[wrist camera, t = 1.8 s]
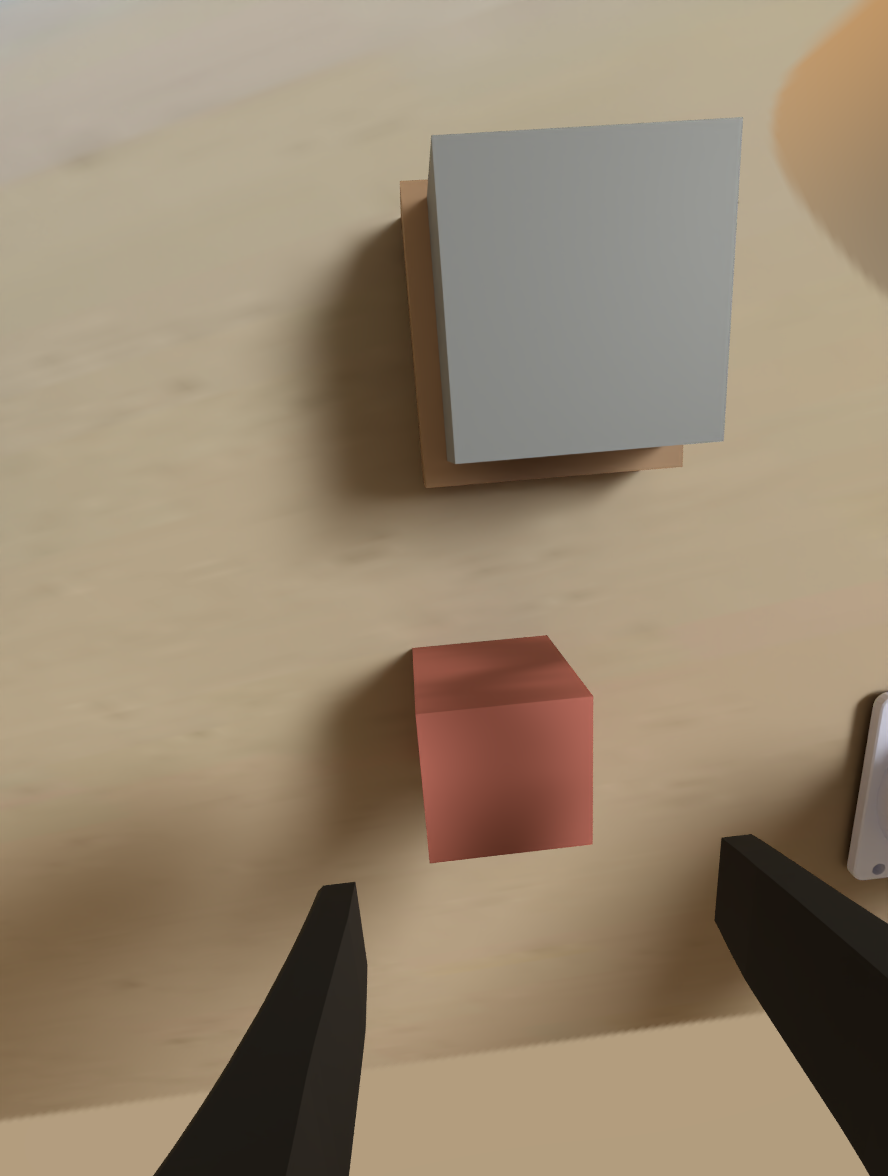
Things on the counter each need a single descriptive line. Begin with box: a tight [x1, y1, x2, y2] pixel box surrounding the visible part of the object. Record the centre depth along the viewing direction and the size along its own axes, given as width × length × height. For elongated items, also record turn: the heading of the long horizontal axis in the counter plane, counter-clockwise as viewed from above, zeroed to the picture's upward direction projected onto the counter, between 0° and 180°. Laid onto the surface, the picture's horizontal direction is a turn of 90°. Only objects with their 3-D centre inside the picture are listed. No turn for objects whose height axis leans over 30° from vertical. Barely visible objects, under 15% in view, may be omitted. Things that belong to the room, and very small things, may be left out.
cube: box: [412, 635, 593, 863], centre depth 16 cm, size 4×4×4 cm
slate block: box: [427, 117, 743, 464], centre depth 12 cm, size 6×6×2 cm
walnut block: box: [400, 180, 683, 488], centre depth 14 cm, size 7×7×2 cm
